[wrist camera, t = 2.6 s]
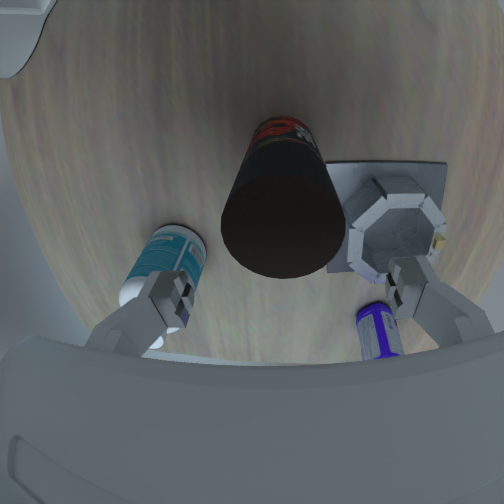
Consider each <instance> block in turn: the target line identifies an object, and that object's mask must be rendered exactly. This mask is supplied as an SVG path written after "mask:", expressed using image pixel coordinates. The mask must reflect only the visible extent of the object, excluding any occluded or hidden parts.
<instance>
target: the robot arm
mask: <svg viewBox="0 0 504 504" xmlns="http://www.w3.org/2000/svg"><path fill="white" fill-rule="evenodd" d="M55 2H56V0H0V78H10V77H12V76H13V75H15V74H16V73H17V72H18V71H19V70H20V69H21V68H22V67H23V66H24V65H25V63H26V62H27V60H28V59H29V57H30V55H31V53H32V52H33V50H34V48H35V45H36V43H37V41H38V38H39V36H40V33H41V30H42V27H43V24H44V21H45V19H46V17H47V15H48V13H49V12H50V10H51V9H52V7H53V6H54V4H55ZM388 267H389V270H390V272H389V273H388V274H387V275H386V280H385V290H386V295H387V298H388V299H389V300H390V301H392V302H391V306H390V307H391V311H392V314H393V317H394V320H395V319H405V318H413V319H414V320H415V321H416V322H417V323H418V324H419V325H420V326H421V327H422V328H423V329H424V330H425V331H426V332H427V333H428V334H429V336H430V337H431V338H432V339H433V340H434V341H435V342H436V343H437V344H438V345H439V346H440V347H439V348H438V349H433V350H428V351H423V352H418V353H413V354H407V355H401V356H394V357H388V358H380V359H373V360H365V361H355V362H345V363H334V364H319V365H299V366H233V365H213V364H212V365H211V364H198V363H186V362H175V361H166V360H158V359H150V358H142V357H141V356H142V355H143V354H144V353H145V352H146V351H147V350H148V349H149V347H150V346H151V345H152V344H153V343H154V342H155V341H156V340H157V339H158V338H159V337H160V336H161V335H162V334H163V333H164V332H165V331H166V330H167V329H168V328H186V325H187V322H188V319H189V316H190V315H189V313H188V311H189V310H190V309H191V308H192V307H193V304H194V290H193V288H192V286H191V285H190V284H189V283H188V282H187V281H188V275H187V273H186V272H185V271H183V270H181V271H152V272H151V273H150V274H149V276H148V278H147V279H146V281H145V283H144V285H143V287H142V289H141V290H140V292H139V294H138V296H137V297H134V298H132V299H131V300H130V301H128V302H127V303H126V304H124V305H123V306H122V307H120V308H119V309H117V310H116V311H115V312H113V313H112V314H111V315H109V316H108V317H107V318H105V319H104V320H103V321H102V322H100V323H99V324H98V325H96V326H95V328H94V329H93V331H92V333H91V335H90V337H89V339H88V341H87V342H86V344H85V346H84V347H81V346H77V345H73V344H69V343H65V342H61V341H57V340H53V339H49V338H46V337H42V336H39V335H35V334H32V335H29V336H27V337H26V338H24V339H23V340H21V341H20V342H19V343H17V344H16V345H15V346H13V347H12V348H11V349H10V350H9V351H8V352H7V353H6V354H5V355H4V357H3V358H2V359H1V361H0V504H504V331H502V332H499V333H494V331H493V328H492V326H491V324H490V322H489V320H488V318H487V316H486V314H485V312H484V310H482V309H481V308H480V307H478V306H477V305H476V304H474V303H473V302H472V301H470V300H469V299H467V298H466V297H465V296H463V295H462V294H460V293H459V292H458V291H456V290H455V289H453V288H452V287H450V286H449V285H447V284H446V283H444V282H440V280H439V279H438V277H437V275H436V273H435V271H434V269H433V268H432V266H431V264H430V262H429V261H428V259H427V257H426V256H425V255H419V256H413V257H401V258H391V259H390V261H389V265H388Z"/></svg>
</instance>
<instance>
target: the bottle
mask: <svg viewBox="0 0 504 504" xmlns="http://www.w3.org/2000/svg"><path fill="white" fill-rule="evenodd" d="M356 324H357V329H358V334H359V340H360V346H361V352H362V359H363V361H365V360H373V359H380V358H388V357H394V356H401V355H404V351H403V347H402V343H401V339H400V335H399V331H398V327H397V324H396V319H395V320H394V317H393V314H392V312H391V310H390V309H389V308H388V307H387V306H385V305H384V304H381V303H375V304H372V305H370V306H368V307H366V308H364V309H363V310H361V311H360V312H359V313H358V314H357V319H356Z"/></svg>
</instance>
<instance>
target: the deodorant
mask: <svg viewBox="0 0 504 504" xmlns="http://www.w3.org/2000/svg"><path fill="white" fill-rule="evenodd" d="M221 233H222V237H223V241H224V244H225V246H226V247H227V249H228V250H229V252H230V254H231V255H232V256H233V257H234V258H235V259H236V260H237V261H238V262H239V263H240V264H241V265H242V266H244V267H246V268H247V269H249V270H251V271H252V272H254V273H257V274H260V275H263V276H266V277H271V278H279V279H287V278H298V277H301V276H305V275H309V274H311V273H313V272H315V271H317V270H319V269H321V268H323V267H324V266H325V265H326V264H327V263H329V262H330V261H331V260H332V259H333V258H334V257H335V255H336V254H337V252H338V251H339V250H340V248H341V246H342V243H343V240H344V237H345V233H346V219H345V216H344V212H343V209H342V206H341V203H340V200H339V198H338V195H337V193H336V190H335V188H334V185H333V183H332V180H331V178H330V175H329V173H328V171H327V168H326V166H325V163H324V161H323V159H322V157H321V154H320V152H319V150H318V148H317V145H316V143H315V141H314V139H313V137H312V135H311V132H310V131H309V130H308V128H307V127H306V126H305V125H304V124H303V123H301V122H300V121H299V120H296V119H294V118H291V117H285V116H280V117H274V118H271V119H269V120H266V121H265V122H264V123H262V124H261V125H260V126H259V127H258V129H257V130H256V131H255V134H254V136H253V138H252V141H251V143H250V146H249V148H248V150H247V153H246V155H245V158H244V160H243V162H242V165H241V167H240V170H239V172H238V175H237V177H236V180H235V182H234V185H233V187H232V190H231V192H230V195H229V197H228V200H227V202H226V205H225V208H224V211H223V213H222V216H221Z"/></svg>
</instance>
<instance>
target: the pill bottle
mask: <svg viewBox="0 0 504 504" xmlns="http://www.w3.org/2000/svg"><path fill="white" fill-rule="evenodd" d="M205 260H206V249H205V246H204V244H203V242H202V241H201V239H200V238H199V237H198V236H197V235H196V234H195V233H194V232H192V231H191V230H189V229H187V228H185V227H182V226H177V225H169V226H164V227H162V228H160V229H158V230H157V231H156V232H155V233H154V234H153V235H152V237H151V238H150V240H149V241H148V243H147V245H146V246H145V248H144V250H143V251H142V253H141V255H140V256H139V258H138V260H137V261H136V263H135V265H134V266H133V268H132V270H131V272H130V273H129V275H128V277H127V279H126V280H125V282H124V284H123V286H122V288H121V290H120V293H119V303H120V307H122V306H123V305H124V304H126V303H127V302H128V301H130V300H131V299H132V298H134V297H137V296H138V294H139V292H140V290H141V289H142V287H143V285H144V283H145V281H146V279H147V278H148V276H149V274H150V273H151V272H152V271H181V270H183V271H185V272H186V273H187V275H188V281H187V282H188V283H189V284H190V285H191V286H192V288H193V290H194V294H195V291H196V288H197V284H198V281H199V278H200V275H201V272H202V269H203V266H204V263H205ZM188 312H189V311H188ZM178 329H180V328H168V329H167V330H166V331H165V332H164V333H163V334H162V335H161V336H160V337H159V338H158V339H157V340H156V341H155V342H154V343H153V344H152V345H151V346H150V347H149V348H159V347H161V346H162V345H163V344H164V341H165V338H166V335H167V333H172V332H175V331H177V330H178Z"/></svg>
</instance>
